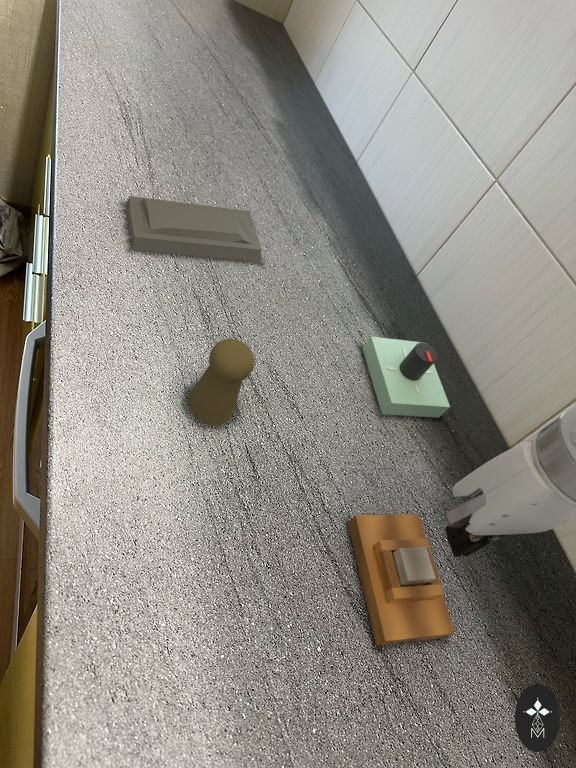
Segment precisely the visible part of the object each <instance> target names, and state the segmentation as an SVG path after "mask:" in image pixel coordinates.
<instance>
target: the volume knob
mask: <svg viewBox="0 0 576 768" xmlns="http://www.w3.org/2000/svg"><path fill="white" fill-rule="evenodd" d="M437 361H438V354H437V352H436V349H434V347H433V346H431V345H430V344H428V343H426V342H422V343H418V344H416V346H415V347H414V348H413V349H412V350H411V352H410V353H409V354H408V355H407V356H406V357H405V359H404V360H403V361H402V362H401V364H400V371H401V373H402V374H403V375H404V376H405V377H406V378H408V379H410V380H413V381H416V380H419V379H420V378H421V377H422V376H423V375H424V374H425V372H426V371H427V370H428V369H429V368H430V367H431V366H432V365H433V364H434V365H435V363H436V362H437Z"/></svg>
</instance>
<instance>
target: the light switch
mask: <svg viewBox="0 0 576 768" xmlns="http://www.w3.org/2000/svg"><path fill="white" fill-rule="evenodd" d="M347 526H348V530H349V534H350V539H351V543H352V547H353V552H354V556H355V560H356V564H357V569H358V573H359V578H360V583H361V587H362V591H363V596H364V600H365V605H366V608H367V613H368V617H369V621H370V625H371V626H370V627H371V631H372V634H373V635H372V636H373V639H374V644H375V646H376V647H379V646H386V645H387V646H389V645H395V644H405V643H412V642H413V643H414V642H421V641H430V640H438V639H439V640H440V639H446V638H447V637H450V636H452V635H454V634H455V633H456V632H455V630H454V626H453V623H452V619H451V617H450V614H449V610H448V607H447V603H446V599H445V597H444V595H445V593H444V590H443V587H442V584H441V581H440V577H439V573H438V571H437V568H436V564H435V561H434V558H433V554H432V550H431V547H430V544H429V541H428V539H427V537H426V533H425V530H424V527H423V524H422V520H421V517H420V514H417V513H416V514H412V513H411V514H364V515H363V514H362V515H354V516H353V517H352V518H351V519H350V520H349V521H347ZM415 547H426V548H427V551H428V554H429V558H430V561H431V564H432V568H433V571H434V574H435V578H436V579H434V580H433V581H431V582H429V583H426V584H413V585H400V581H399V577H398V573H397V569H396V566H395V562H394V558H393V554H392V553H394V552H395V551H396V550H398V549H399V548H415Z"/></svg>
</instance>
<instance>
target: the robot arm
mask: <svg viewBox="0 0 576 768" xmlns="http://www.w3.org/2000/svg"><path fill="white" fill-rule="evenodd" d="M451 492H452V496H453V498H469V499H468V500H466V501H465V502H463V503H461V504H459V505H457V506H454V507H453V508H451V509H450V510H448V511H446V512H445V513H444V517H445V520H446V523H447V525H446V526H445V528H444V530H445V535H446V539H447V542H448V544H449V546H450V547H449V548H450V550H451V552H452V553H451V554H452V556H453V557H455V558H460V557H469V556H470V557H471V556H472V555H473V554H475V553H476V552H478V551H481V550H482V549H483V548H485V547H486V546H488V545H490V544H491V541H492V542H493V541H498V540H501V539H503V538H505V537H506V536H509V535H524V534H537V533H543V532H548V531H551V530H553V529H555V528H557V527H559V526H562V525H564V524H565V523H567V522H569V521H571V520H573V519H574V518H576V403H574V404H573V405H572V406H570V407H569V408H568V409H566V410H564V411H563V412H562V413H561V414H560V415H558V416H556V417H555V418H554V419H553V420H552V421H550V422H549V423H548V424H546V425H545V426H544V427H542V428H541V429H540V430H538V431H537V433H535V435H534V436H533V438H532V440H527V441H524V442H522V443H519V444H518V445H515V446H513V447H512V448H509V449H507V450H506V451H504V452H502V453H500V454H499V455H497V456H495V457H493V458H491V459H490V460H488V461H486V462H485V463H484V464H482V465H480V466H479V467H478V468H476V469H474V470H473V471H472V472H470V473H468V474H467V475H466V476H465V477H463V478H462V479H460V480H459V481H458V482H457V483H455V484H454V485H453V486H452V488H451Z"/></svg>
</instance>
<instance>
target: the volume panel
mask: <svg viewBox="0 0 576 768" xmlns="http://www.w3.org/2000/svg"><path fill="white" fill-rule="evenodd" d="M418 343H423V342H421V341H413V340H405V339H397V338H396V339H395V338H387V337H379V336H369V338H368V340H367V341H366V343H365V344H364V346H363V347H362V352H363V355H364V359H365V362H366V366H367V370H368V372H369V375H370V379H371V383H372V385H373V389H374V392H375V396H376V399H377V403H378V405H379V406H378V407H379V409H380V413H381V415H388V416H403V417H404V416H405V417H420V418H421V417H423V418H438V419H439V418H440V417H441V416H442V415H444V414H445V413H446V412H447V411H448V410H449V409H450V408H451V405H450V403H449V400H448V398H447V394H446V392H445V390H444V387H443V384H442V381H441V379H440V376H439V374H438V370H437V369H436V365H435V363H434V364H433V365H432V366H431V367H430V368H429V369H428V370H427V371H426V372H425V374H424V375H423V376H422V377H421V378H420V379H419V380H416V381H413V380H410V379H408V378H406V377H405V376H404V375H403V374H402V373H401V371H400V364H401V362H402V361H403V360H404V359H405V357H406V356H407V355H408V354H409V353H410V352H411V350H412V349H413V348H414V347H415V346H416V344H418Z"/></svg>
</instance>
